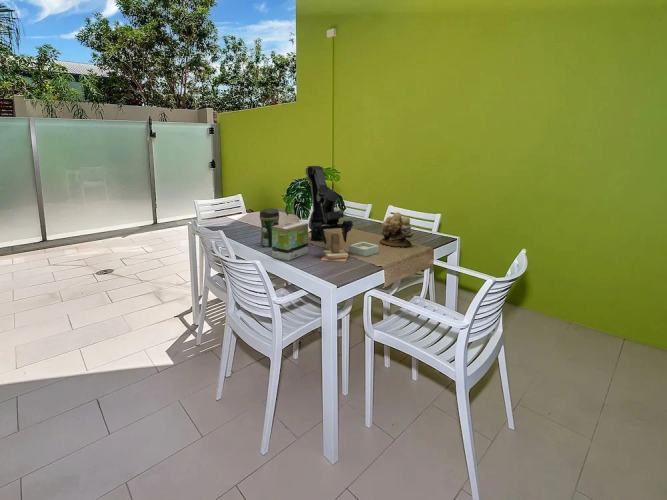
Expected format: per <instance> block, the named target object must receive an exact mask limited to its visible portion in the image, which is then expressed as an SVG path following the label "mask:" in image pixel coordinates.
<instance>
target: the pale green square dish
mask: <svg viewBox="0 0 667 500" xmlns="http://www.w3.org/2000/svg"><path fill="white" fill-rule="evenodd" d="M379 248H380V244H379V245H378V244H375V243H370V242H365V241H360V242H357V243H356V242H355V243H353V244H349V245H348V254H354V255H355V256H356V255H357V256H360V257H364V258H366V257H369V256H372V255H375V254H379V251H380V249H379Z"/></svg>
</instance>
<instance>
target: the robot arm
mask: <svg viewBox="0 0 667 500" xmlns="http://www.w3.org/2000/svg"><path fill="white" fill-rule="evenodd" d="M305 175H306V179H307V181H308V182H309V183H310V190H311V202H312V211H311V213H310V218H309V221H308V229H309V230H310V235H311V237H310V241H315V242H317V241H318V242H322V243H324V245H326V244H327V239H326V234H325V233H326V230H333V229H341V231H342V232H341V234H342V239H343V241H344V243H347V237H348V233H349V232H350V231H351V230H352V228H353V226H354V223H353V220H349V219H348V220H343V222H342V223H339V222H340V219H341V218H344V211H343V209H340V210H339V209H338V210H337V211H335V207H336V204H337V203H338V200H339V195H338V193H337V192H335V191H334V190H333V189H331V188H330V187H329V186H328V184H327V182H326V178H325V174H324V167H323V166H320V165H308V166H307V167H306V168H305Z"/></svg>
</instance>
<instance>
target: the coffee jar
mask: <svg viewBox="0 0 667 500" xmlns="http://www.w3.org/2000/svg"><path fill="white" fill-rule="evenodd" d="M279 219H280V213H279V209H277V208H273V207H272V208H267V209H262V210H260V211H259V220H260V224H261V231H260V232H261V237H260V238H261V239H260V243H261V245H262V246H263V247H264V246H265V248H267V247H268V248H271V247H272V226H276V225H279V224H280V223H279Z"/></svg>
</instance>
